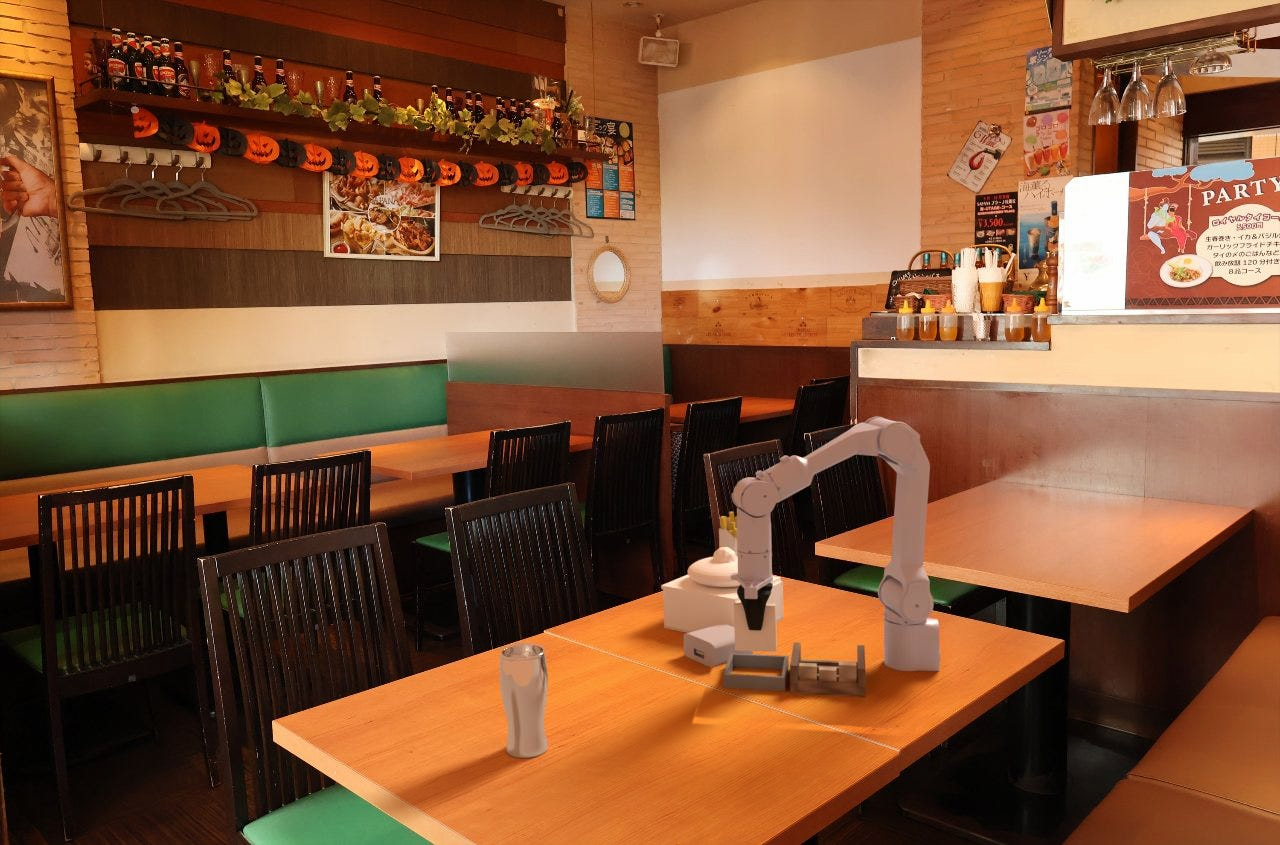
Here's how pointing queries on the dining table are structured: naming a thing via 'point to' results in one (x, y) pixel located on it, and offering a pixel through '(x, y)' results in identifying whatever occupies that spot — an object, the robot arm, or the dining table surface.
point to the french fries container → (728, 532)
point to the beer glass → (524, 698)
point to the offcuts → (829, 672)
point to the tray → (756, 680)
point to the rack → (827, 686)
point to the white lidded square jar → (709, 594)
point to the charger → (711, 645)
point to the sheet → (755, 631)
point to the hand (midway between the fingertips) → (755, 628)
